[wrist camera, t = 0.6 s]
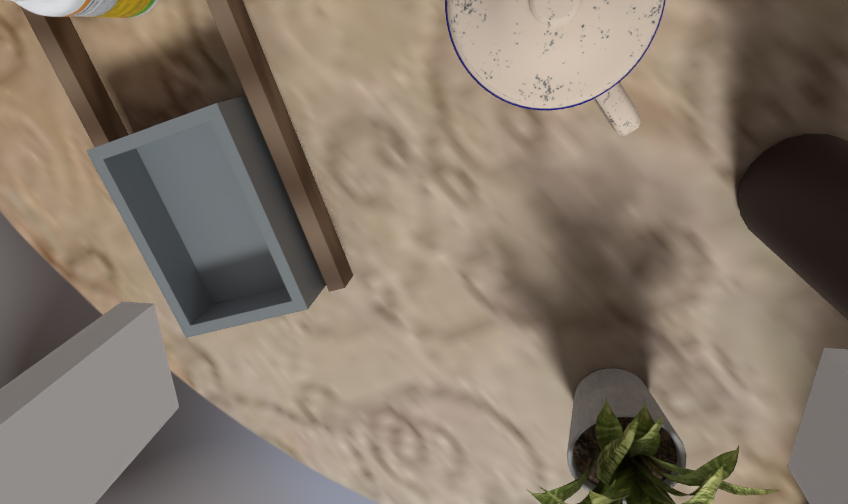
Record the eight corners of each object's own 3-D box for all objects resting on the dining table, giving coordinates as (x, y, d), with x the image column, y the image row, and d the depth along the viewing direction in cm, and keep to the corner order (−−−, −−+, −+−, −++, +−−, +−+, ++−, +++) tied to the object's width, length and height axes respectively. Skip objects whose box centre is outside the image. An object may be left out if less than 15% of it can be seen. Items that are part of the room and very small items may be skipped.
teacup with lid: (432, -10, 32) (386, -26, 21) (571, -131, 28) (600, -222, 18) (548, 159, 34) (560, 220, 23) (688, 65, 31) (775, 88, 20)
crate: (128, 138, 37) (86, 150, 34) (248, 94, 35) (216, 102, 31) (215, 310, 42) (186, 337, 38) (327, 282, 39) (307, 309, 36)
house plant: (784, 387, 37) (957, 629, 22) (648, 505, 43) (715, 761, 28) (609, 279, 36) (668, 456, 22) (494, 414, 42) (478, 628, 27)
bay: (-30, -140, 33) (-62, -150, 31) (144, -243, 29) (119, -260, 28) (203, 312, 43) (188, 325, 41) (353, 275, 39) (344, 287, 38)
